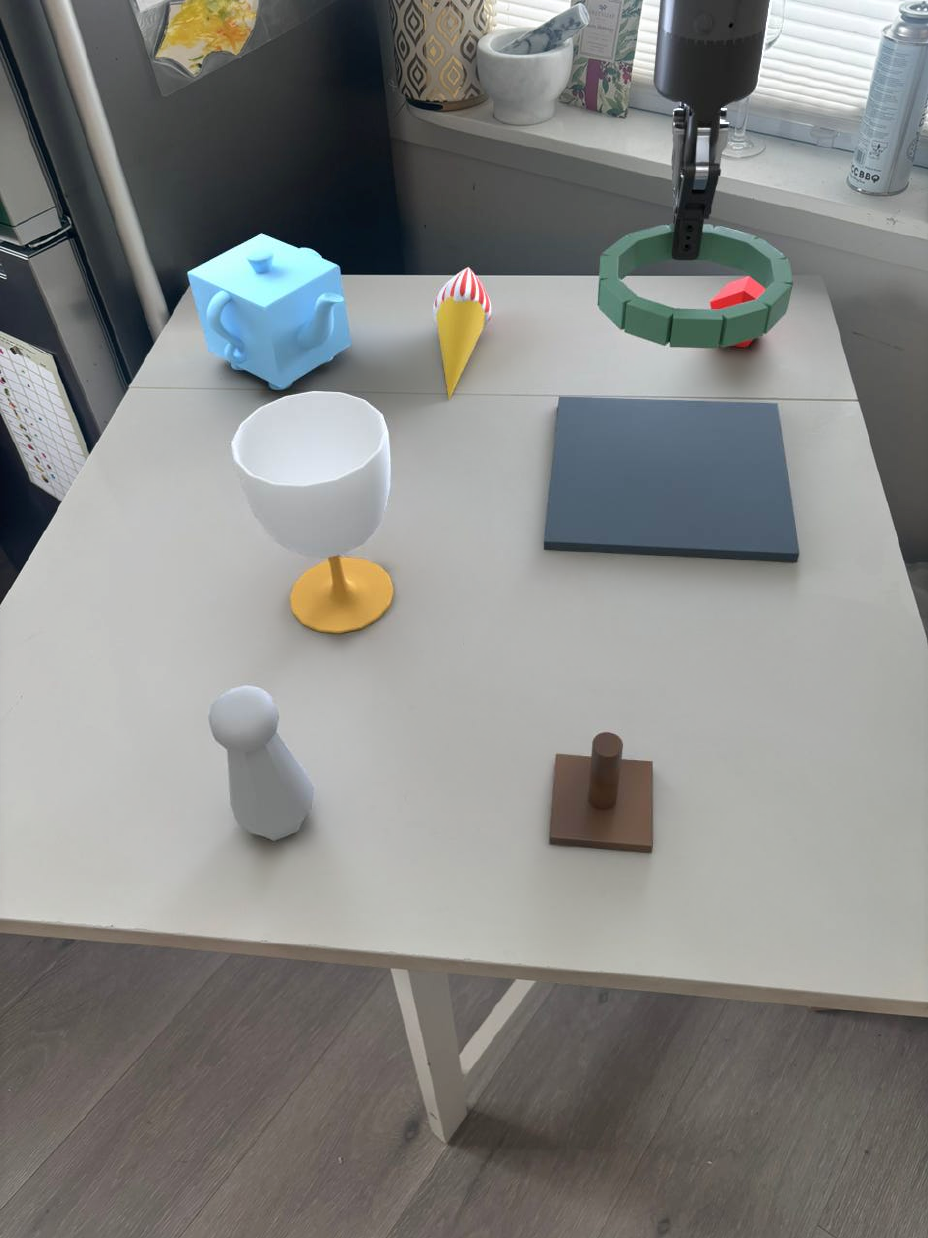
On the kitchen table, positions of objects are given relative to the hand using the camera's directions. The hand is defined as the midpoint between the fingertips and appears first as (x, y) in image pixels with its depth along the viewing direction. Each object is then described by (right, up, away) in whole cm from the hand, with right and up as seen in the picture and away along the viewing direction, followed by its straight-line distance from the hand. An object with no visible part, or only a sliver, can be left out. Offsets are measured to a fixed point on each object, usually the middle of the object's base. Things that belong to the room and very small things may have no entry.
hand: (684, 251), depth 82 cm
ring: (0, -5, -4) cm, 7 cm away
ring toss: (-8, -44, -11) cm, 46 cm away
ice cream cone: (-19, 0, +30) cm, 35 cm away
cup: (-29, -29, +4) cm, 41 cm away
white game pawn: (-32, -45, -10) cm, 56 cm away
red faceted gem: (+12, +1, +29) cm, 31 cm away
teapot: (-36, -3, +28) cm, 46 cm away
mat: (+1, -17, +13) cm, 21 cm away
